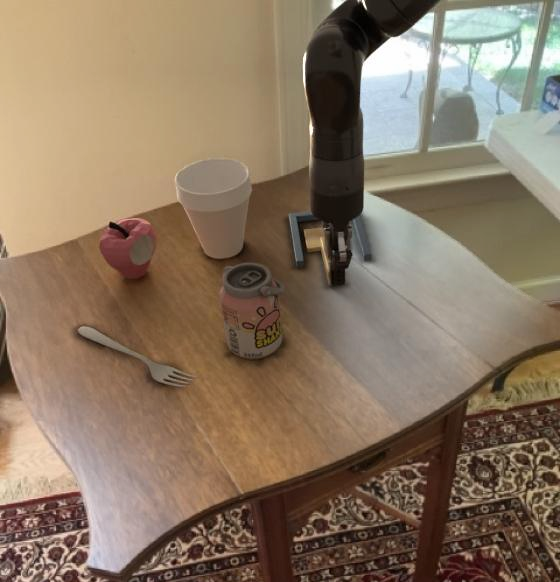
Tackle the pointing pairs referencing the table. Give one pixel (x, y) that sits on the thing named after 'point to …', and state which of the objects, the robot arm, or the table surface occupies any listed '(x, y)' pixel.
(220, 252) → the cup
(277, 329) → the beverage can
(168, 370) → the fork
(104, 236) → the apple
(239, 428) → the table surface
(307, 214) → the u-shaped stop
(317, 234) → the t-shaped block
